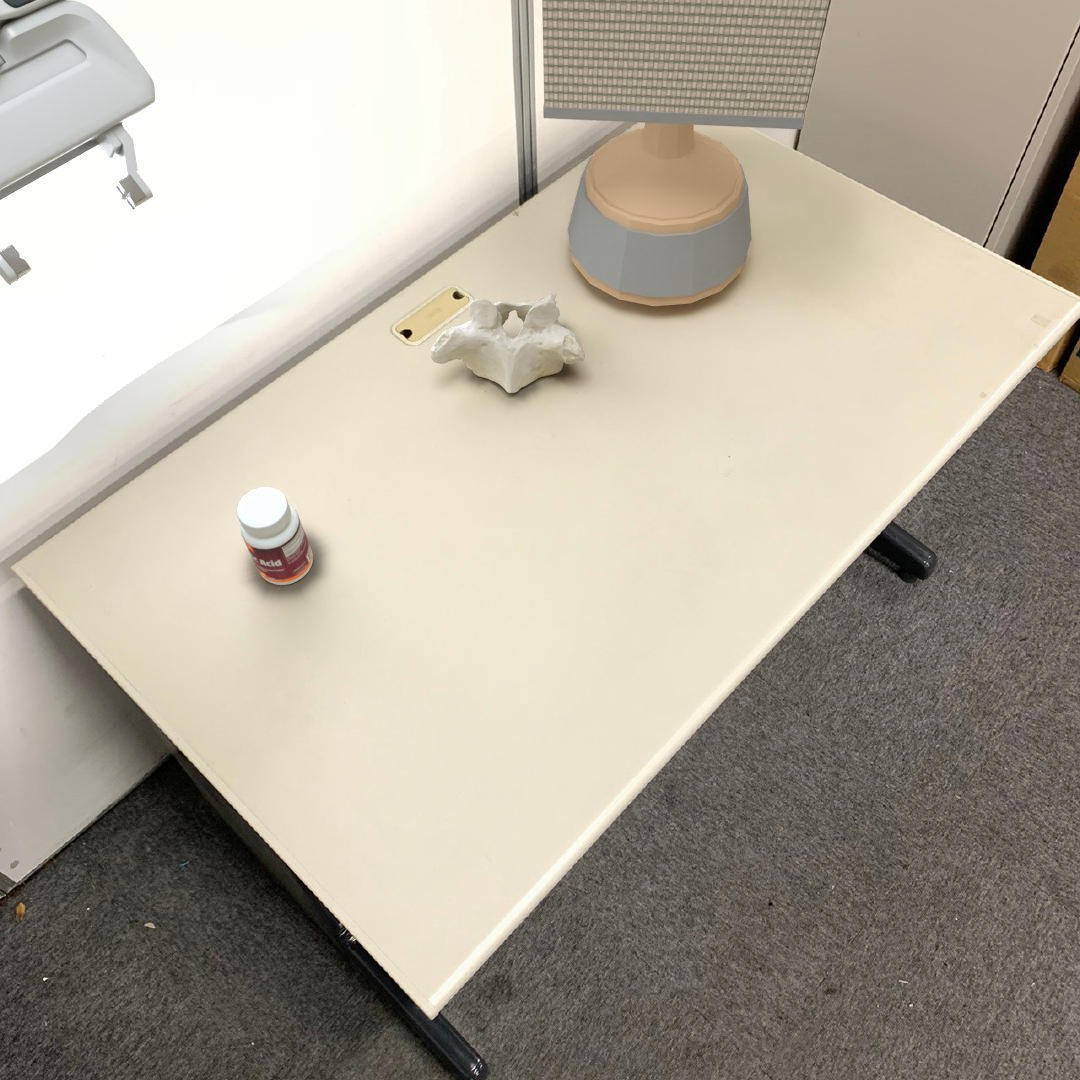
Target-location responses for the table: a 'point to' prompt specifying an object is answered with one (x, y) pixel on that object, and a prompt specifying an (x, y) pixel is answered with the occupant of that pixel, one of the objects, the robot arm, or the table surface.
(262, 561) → the pill bottle
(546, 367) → the bone
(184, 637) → the table surface
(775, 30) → the desk lamp
